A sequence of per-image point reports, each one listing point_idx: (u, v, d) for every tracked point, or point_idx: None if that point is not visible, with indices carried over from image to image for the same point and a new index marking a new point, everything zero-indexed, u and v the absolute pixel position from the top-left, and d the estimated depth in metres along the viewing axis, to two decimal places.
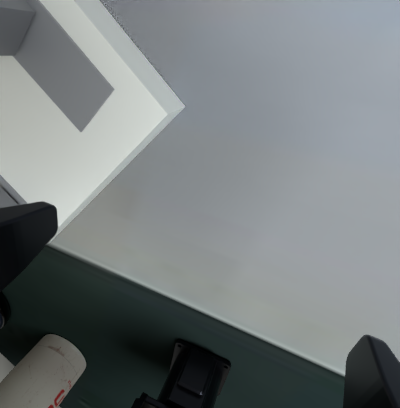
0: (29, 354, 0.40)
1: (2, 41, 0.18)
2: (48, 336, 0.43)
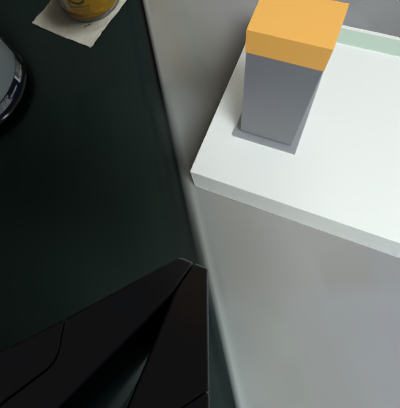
0: None
1: None
2: None
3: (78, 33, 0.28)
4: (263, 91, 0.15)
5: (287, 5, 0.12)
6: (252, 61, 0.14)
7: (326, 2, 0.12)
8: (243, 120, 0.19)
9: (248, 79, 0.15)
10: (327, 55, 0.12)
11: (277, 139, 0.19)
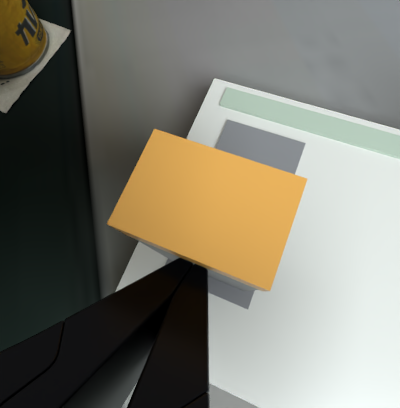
0: None
1: None
2: None
3: None
4: None
5: (192, 171, 0.06)
6: (144, 242, 0.08)
7: (264, 171, 0.06)
8: (172, 260, 0.13)
9: (152, 248, 0.09)
10: (261, 288, 0.06)
11: (224, 282, 0.13)
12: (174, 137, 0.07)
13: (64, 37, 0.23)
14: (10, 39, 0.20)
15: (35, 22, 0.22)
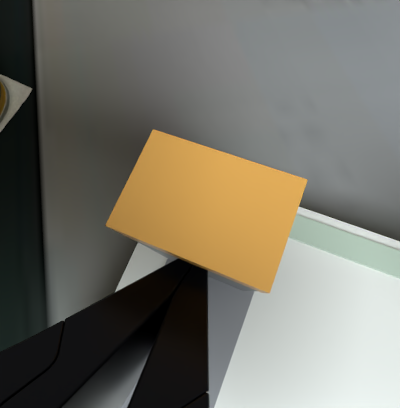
0: None
1: None
2: None
3: None
4: None
5: (191, 171, 0.06)
6: (143, 243, 0.08)
7: (263, 172, 0.06)
8: (172, 260, 0.13)
9: (151, 249, 0.09)
10: (261, 290, 0.06)
11: None
12: (173, 137, 0.07)
13: (25, 96, 0.22)
14: None
15: None
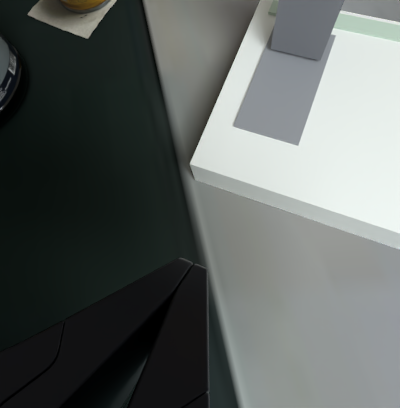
0: None
1: None
2: None
3: (74, 24, 0.28)
4: None
5: None
6: None
7: None
8: (275, 34, 0.19)
9: None
10: None
11: (307, 54, 0.20)
12: None
13: None
14: None
15: None
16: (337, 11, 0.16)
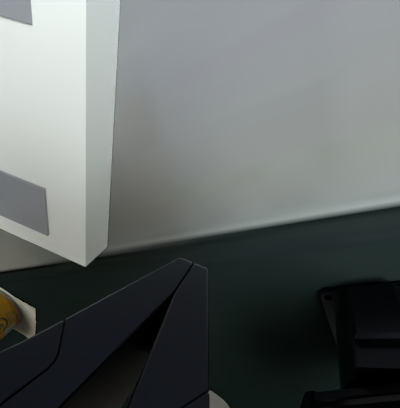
0: None
1: None
2: None
3: (29, 315, 0.37)
4: None
5: None
6: None
7: None
8: None
9: None
10: None
11: None
12: None
13: None
14: None
15: None
16: None
